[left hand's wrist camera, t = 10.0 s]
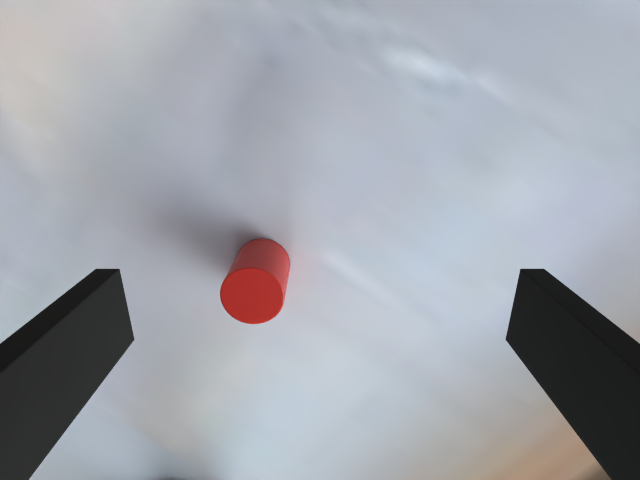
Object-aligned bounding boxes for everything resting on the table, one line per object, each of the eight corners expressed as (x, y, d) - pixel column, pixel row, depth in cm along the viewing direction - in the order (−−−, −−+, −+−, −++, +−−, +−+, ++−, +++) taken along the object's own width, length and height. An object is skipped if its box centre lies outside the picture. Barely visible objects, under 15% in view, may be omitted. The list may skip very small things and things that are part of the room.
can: (241, 289, 28) (226, 327, 23) (232, 241, 26) (213, 271, 22) (293, 284, 28) (288, 321, 23) (286, 235, 26) (279, 264, 22)
